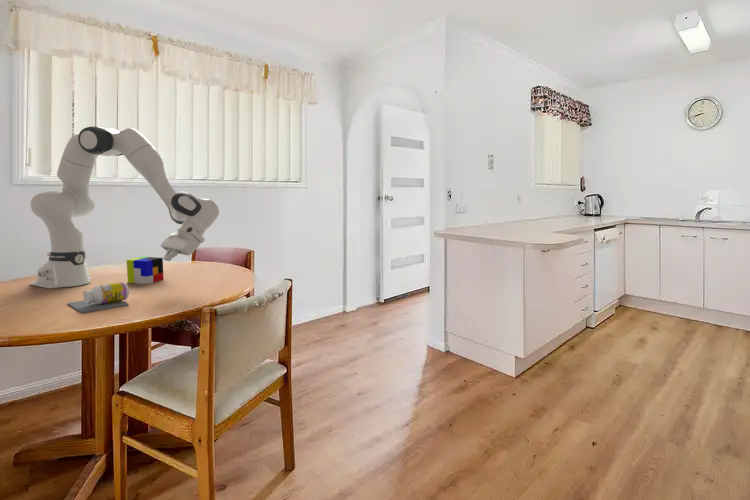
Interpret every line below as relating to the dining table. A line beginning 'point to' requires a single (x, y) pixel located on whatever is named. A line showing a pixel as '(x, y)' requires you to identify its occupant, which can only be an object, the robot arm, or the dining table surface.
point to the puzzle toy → (145, 270)
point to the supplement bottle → (106, 293)
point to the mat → (95, 306)
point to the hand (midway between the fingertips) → (165, 259)
